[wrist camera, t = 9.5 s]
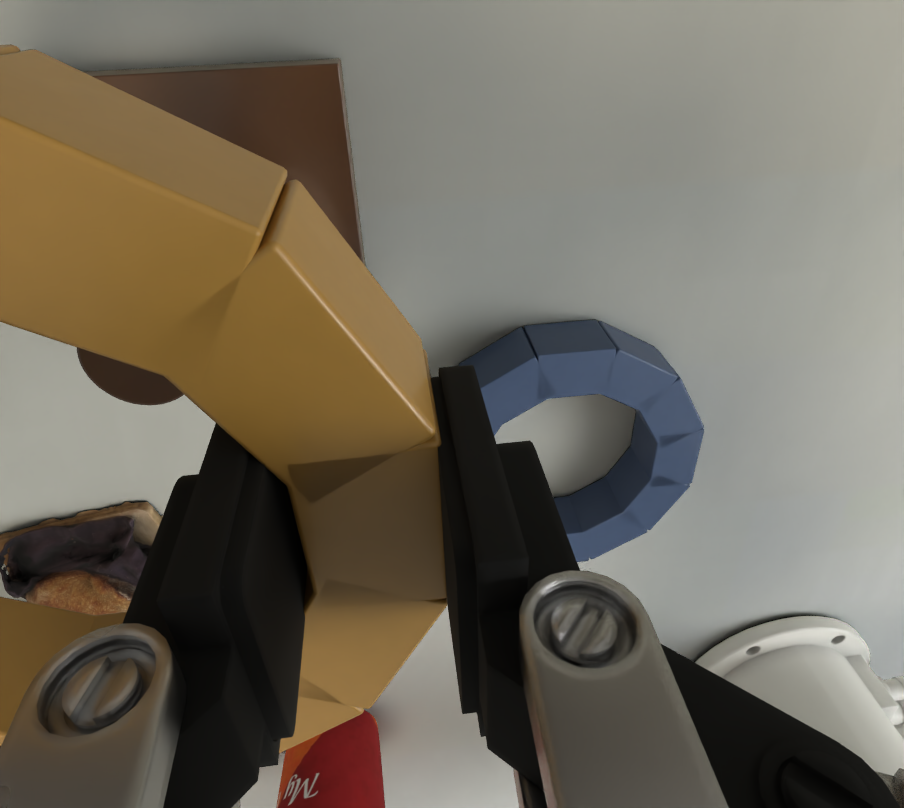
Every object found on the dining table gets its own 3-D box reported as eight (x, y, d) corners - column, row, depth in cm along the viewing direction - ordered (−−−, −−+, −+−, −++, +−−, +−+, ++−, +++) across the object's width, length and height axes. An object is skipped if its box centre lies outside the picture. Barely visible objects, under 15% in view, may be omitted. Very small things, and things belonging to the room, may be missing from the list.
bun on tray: (250, 633, 34) (239, 697, 31) (99, 666, 34) (73, 734, 31) (162, 493, 28) (137, 556, 25) (-22, 534, 28) (-69, 602, 25)
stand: (340, 58, 19) (321, 112, 11) (372, 321, 24) (375, 496, 16) (35, 73, 18) (-234, 144, 10) (133, 341, 23) (7, 534, 15)
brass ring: (404, 24, 7) (419, 40, 5) (445, 633, 14) (459, 747, 12) (-717, 80, 6) (-1229, 125, 4) (-106, 702, 13) (-195, 837, 11)
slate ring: (698, 310, 25) (727, 338, 23) (655, 514, 32) (676, 551, 30) (417, 334, 25) (421, 366, 23) (432, 539, 31) (437, 578, 29)
